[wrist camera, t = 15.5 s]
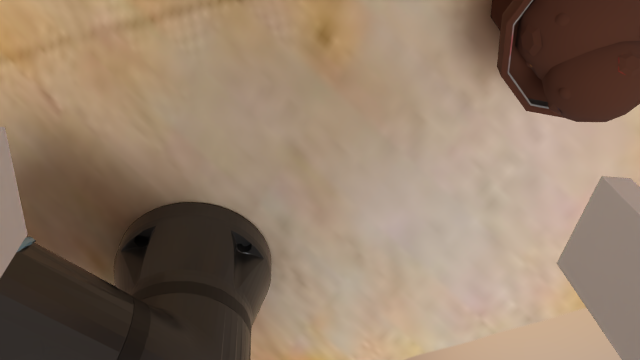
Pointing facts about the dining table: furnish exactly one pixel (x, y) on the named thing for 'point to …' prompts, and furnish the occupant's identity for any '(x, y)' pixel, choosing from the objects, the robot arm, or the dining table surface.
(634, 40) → the ice cream bowl
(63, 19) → the dining table surface
